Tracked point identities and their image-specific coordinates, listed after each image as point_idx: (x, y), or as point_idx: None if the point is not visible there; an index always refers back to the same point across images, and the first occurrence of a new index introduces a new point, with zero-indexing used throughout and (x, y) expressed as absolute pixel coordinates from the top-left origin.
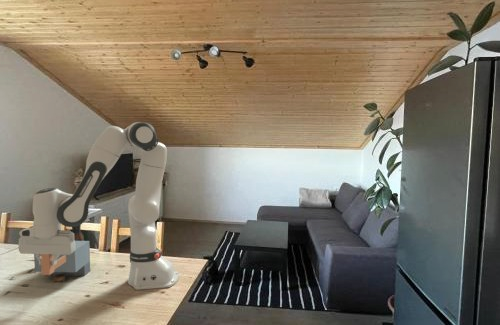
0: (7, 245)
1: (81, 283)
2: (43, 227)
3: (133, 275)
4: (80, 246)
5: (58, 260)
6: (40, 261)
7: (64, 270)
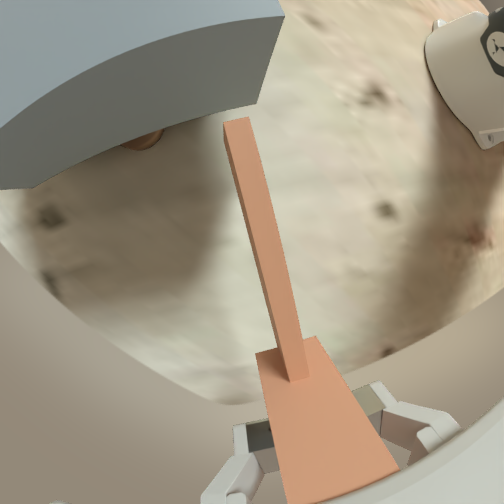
0: None
1: (279, 118)
2: None
3: (495, 120)
4: None
5: (286, 271)
6: (264, 468)
7: (179, 118)
